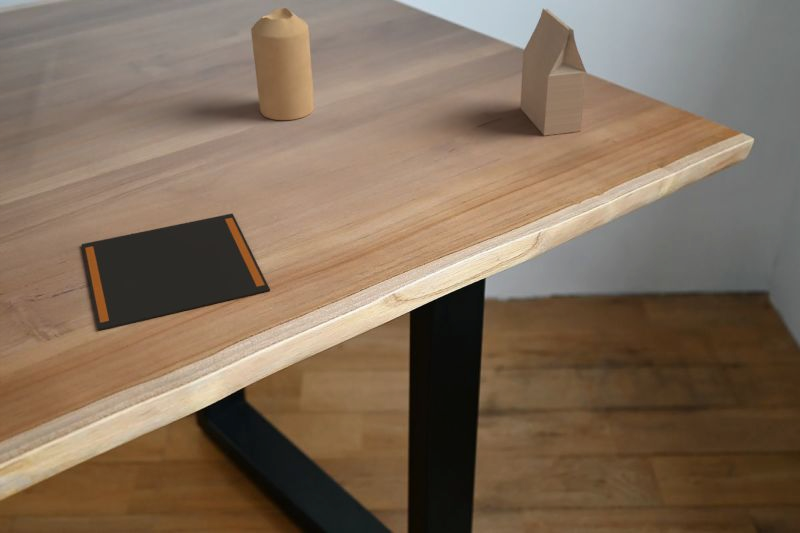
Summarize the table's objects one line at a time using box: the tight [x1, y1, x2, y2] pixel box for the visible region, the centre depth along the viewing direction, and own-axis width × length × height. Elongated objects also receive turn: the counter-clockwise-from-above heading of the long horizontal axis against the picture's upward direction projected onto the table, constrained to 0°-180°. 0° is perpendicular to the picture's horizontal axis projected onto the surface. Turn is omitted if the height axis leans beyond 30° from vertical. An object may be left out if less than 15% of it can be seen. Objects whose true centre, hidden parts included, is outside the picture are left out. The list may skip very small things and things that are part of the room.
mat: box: [81, 213, 271, 332], centre depth 68 cm, size 12×12×1 cm
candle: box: [250, 7, 315, 121], centre depth 90 cm, size 6×6×10 cm
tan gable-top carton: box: [519, 7, 587, 136], centre depth 87 cm, size 4×7×10 cm, turn 13°
